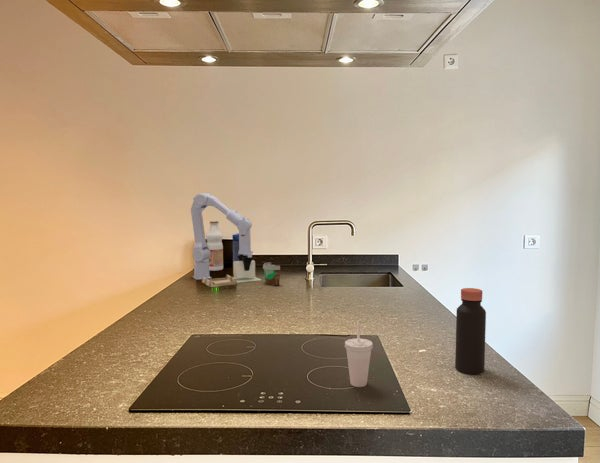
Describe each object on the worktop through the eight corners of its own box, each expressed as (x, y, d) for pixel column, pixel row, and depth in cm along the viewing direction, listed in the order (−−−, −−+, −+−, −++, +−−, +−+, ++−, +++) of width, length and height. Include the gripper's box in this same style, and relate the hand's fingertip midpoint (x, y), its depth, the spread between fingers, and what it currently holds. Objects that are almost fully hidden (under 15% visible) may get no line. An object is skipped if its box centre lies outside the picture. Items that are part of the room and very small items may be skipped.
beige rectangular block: (233, 277, 231) (233, 261, 230) (252, 275, 236) (252, 259, 235) (236, 278, 228) (236, 262, 227) (255, 276, 232) (255, 260, 231)
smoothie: (369, 377, 108) (370, 319, 107) (375, 389, 102) (375, 327, 101) (342, 378, 108) (343, 320, 107) (346, 389, 102) (346, 328, 101)
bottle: (450, 369, 113) (451, 290, 111) (462, 362, 118) (464, 286, 116) (476, 377, 108) (479, 294, 107) (488, 369, 113) (491, 289, 111)
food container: (259, 283, 224) (259, 262, 223) (270, 281, 226) (270, 261, 226) (268, 287, 213) (268, 266, 212) (280, 286, 215) (280, 265, 214)
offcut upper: (213, 284, 218) (213, 282, 218) (229, 282, 222) (229, 280, 222) (215, 286, 215) (215, 283, 215) (231, 284, 219) (231, 281, 218)
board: (229, 279, 235) (228, 278, 235) (252, 276, 241) (252, 275, 241) (237, 283, 223) (237, 282, 223) (262, 280, 229) (262, 279, 229)
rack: (201, 282, 225) (201, 276, 225) (227, 280, 231) (227, 274, 231) (209, 287, 213) (209, 281, 212) (236, 285, 219) (236, 279, 218)
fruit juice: (220, 270, 260) (220, 221, 257) (204, 270, 260) (203, 221, 258) (225, 268, 269) (224, 220, 267) (209, 268, 270) (208, 220, 267)
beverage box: (250, 272, 253) (249, 233, 251) (245, 276, 242) (245, 235, 240) (238, 272, 254) (237, 233, 252) (233, 276, 243) (232, 235, 241)
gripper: (257, 244, 226) (258, 271, 227) (247, 241, 239) (247, 267, 240) (244, 245, 223) (244, 272, 224) (234, 242, 235) (234, 268, 236)
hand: (245, 270), depth 231 cm, fingers closed on beige rectangular block, 4 cm apart
